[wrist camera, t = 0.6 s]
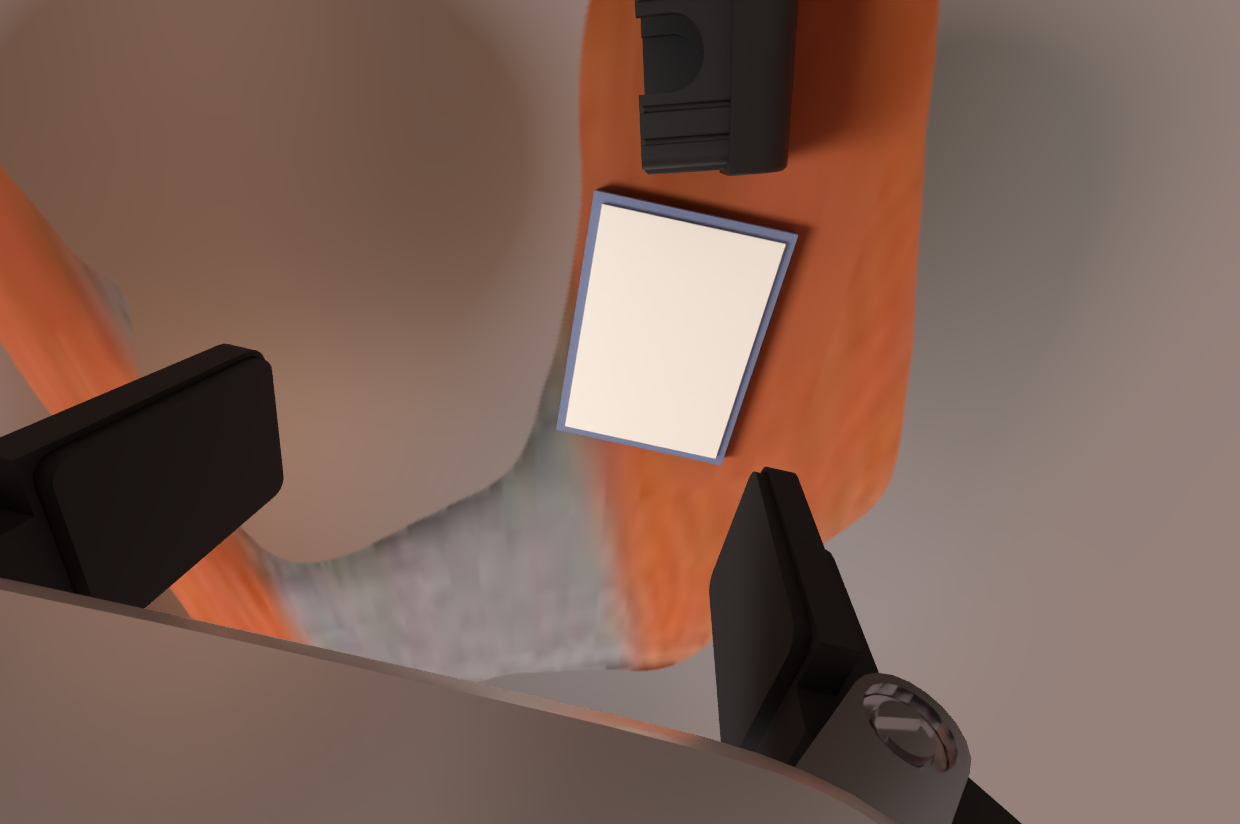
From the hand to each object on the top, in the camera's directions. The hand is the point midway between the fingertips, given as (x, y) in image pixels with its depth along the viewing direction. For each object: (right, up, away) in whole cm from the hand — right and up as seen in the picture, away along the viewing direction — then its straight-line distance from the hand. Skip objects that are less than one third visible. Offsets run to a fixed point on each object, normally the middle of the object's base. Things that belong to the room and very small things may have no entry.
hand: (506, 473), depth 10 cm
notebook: (+5, +6, +24) cm, 26 cm away
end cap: (+7, +20, +18) cm, 27 cm away
